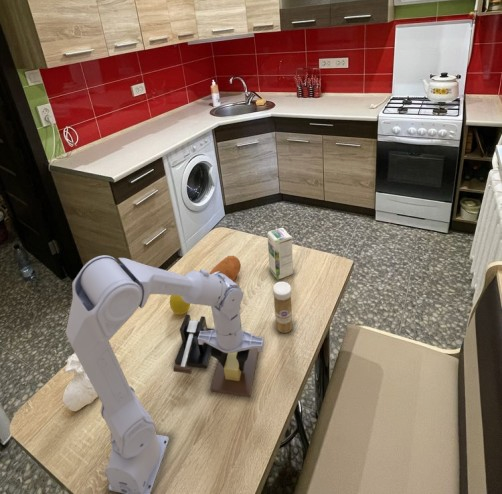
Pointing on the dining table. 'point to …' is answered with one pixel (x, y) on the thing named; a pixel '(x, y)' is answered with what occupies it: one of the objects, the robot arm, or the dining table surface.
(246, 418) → the dining table surface
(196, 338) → the slicer
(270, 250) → the syrup box
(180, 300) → the lemon
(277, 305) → the sprinkles bottle
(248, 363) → the board
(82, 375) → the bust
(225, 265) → the potato
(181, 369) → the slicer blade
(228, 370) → the butter
